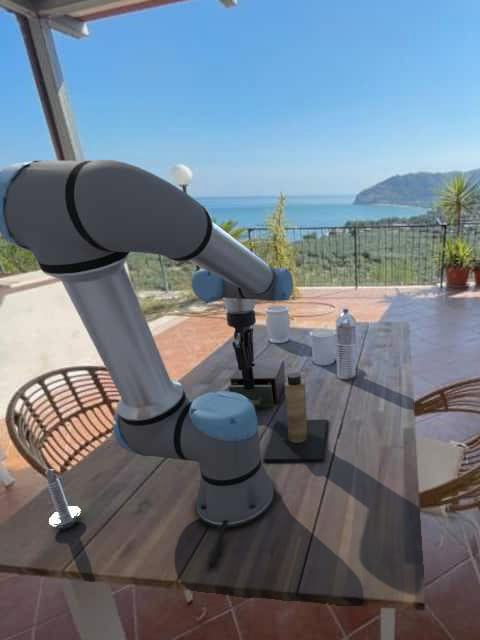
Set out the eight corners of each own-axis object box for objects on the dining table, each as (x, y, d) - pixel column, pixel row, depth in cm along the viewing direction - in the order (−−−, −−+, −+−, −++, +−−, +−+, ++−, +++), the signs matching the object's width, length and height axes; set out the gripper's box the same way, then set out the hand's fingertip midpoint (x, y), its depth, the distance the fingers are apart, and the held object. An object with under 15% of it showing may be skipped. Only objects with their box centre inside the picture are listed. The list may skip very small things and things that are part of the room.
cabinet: (277, 403, 121) (275, 378, 118) (233, 403, 121) (230, 378, 117) (285, 381, 135) (283, 358, 132) (246, 381, 135) (243, 359, 132)
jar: (263, 343, 172) (260, 310, 166) (272, 336, 181) (269, 304, 176) (286, 345, 170) (284, 311, 164) (294, 337, 179) (292, 305, 174)
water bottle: (353, 381, 136) (353, 312, 127) (334, 379, 137) (333, 310, 128) (357, 373, 142) (357, 306, 133) (339, 371, 143) (338, 305, 134)
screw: (88, 514, 78) (73, 533, 73) (62, 515, 77) (46, 535, 73) (70, 460, 73) (53, 477, 69) (43, 461, 73) (24, 478, 68)
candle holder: (341, 360, 154) (340, 331, 150) (326, 368, 146) (325, 338, 142) (321, 355, 159) (320, 327, 154) (306, 362, 151) (304, 333, 147)
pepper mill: (306, 442, 100) (302, 379, 93) (287, 442, 100) (282, 379, 93) (308, 432, 104) (305, 370, 98) (289, 432, 104) (285, 370, 98)
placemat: (322, 461, 94) (322, 458, 94) (264, 461, 94) (263, 459, 93) (326, 421, 111) (326, 419, 110) (277, 422, 110) (277, 419, 110)
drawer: (269, 414, 113) (267, 393, 110) (227, 414, 113) (224, 393, 110) (280, 385, 130) (279, 367, 128) (243, 385, 130) (241, 367, 128)
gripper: (233, 304, 111) (242, 378, 120) (218, 317, 99) (229, 399, 108) (259, 304, 111) (266, 378, 120) (248, 317, 99) (257, 398, 108)
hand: (249, 388), depth 114 cm, fingers closed
